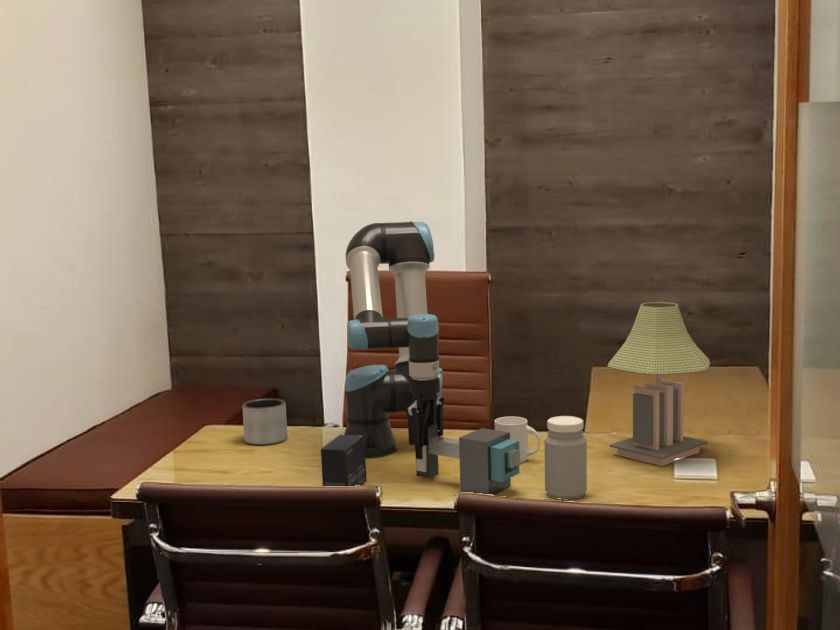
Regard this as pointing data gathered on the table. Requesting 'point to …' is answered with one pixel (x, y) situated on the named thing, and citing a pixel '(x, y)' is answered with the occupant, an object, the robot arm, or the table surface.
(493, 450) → the collar
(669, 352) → the desk lamp
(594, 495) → the table surface
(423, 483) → the table surface
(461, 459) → the block
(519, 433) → the mug
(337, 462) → the small box
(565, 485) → the jar
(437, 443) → the shaft
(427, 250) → the robot arm
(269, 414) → the planter
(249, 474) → the table surface
